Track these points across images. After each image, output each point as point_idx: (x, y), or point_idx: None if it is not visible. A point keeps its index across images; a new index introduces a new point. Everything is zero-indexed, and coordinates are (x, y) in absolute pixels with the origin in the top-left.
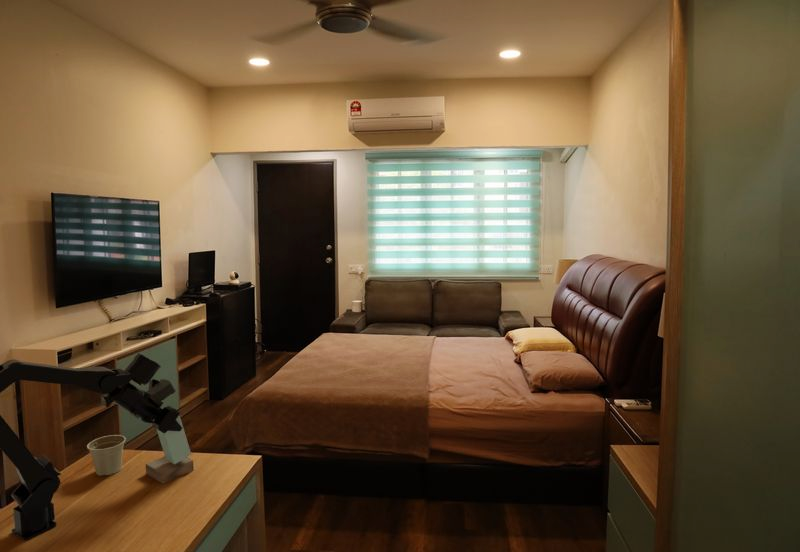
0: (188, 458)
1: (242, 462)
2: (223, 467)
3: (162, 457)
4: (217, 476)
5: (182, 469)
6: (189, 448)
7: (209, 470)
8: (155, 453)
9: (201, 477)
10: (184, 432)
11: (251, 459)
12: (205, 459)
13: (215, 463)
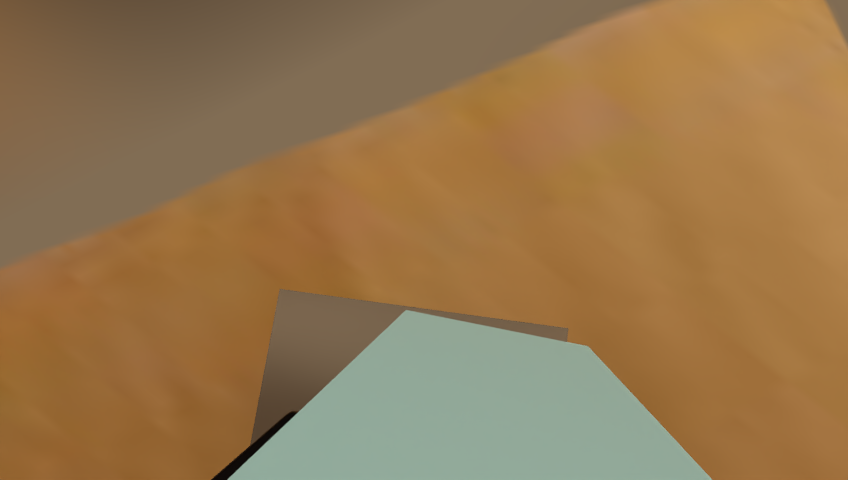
0: (499, 325)
1: (779, 66)
2: (720, 189)
3: (259, 427)
4: (807, 311)
5: None
6: (599, 360)
7: (665, 274)
8: (29, 289)
9: (710, 384)
10: (663, 431)
11: (798, 2)
12: (481, 167)
13: (608, 174)
